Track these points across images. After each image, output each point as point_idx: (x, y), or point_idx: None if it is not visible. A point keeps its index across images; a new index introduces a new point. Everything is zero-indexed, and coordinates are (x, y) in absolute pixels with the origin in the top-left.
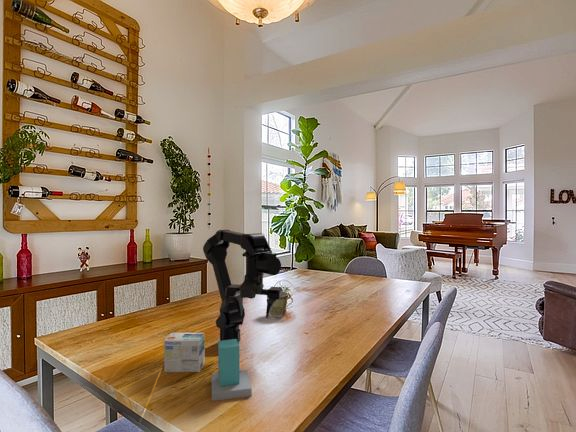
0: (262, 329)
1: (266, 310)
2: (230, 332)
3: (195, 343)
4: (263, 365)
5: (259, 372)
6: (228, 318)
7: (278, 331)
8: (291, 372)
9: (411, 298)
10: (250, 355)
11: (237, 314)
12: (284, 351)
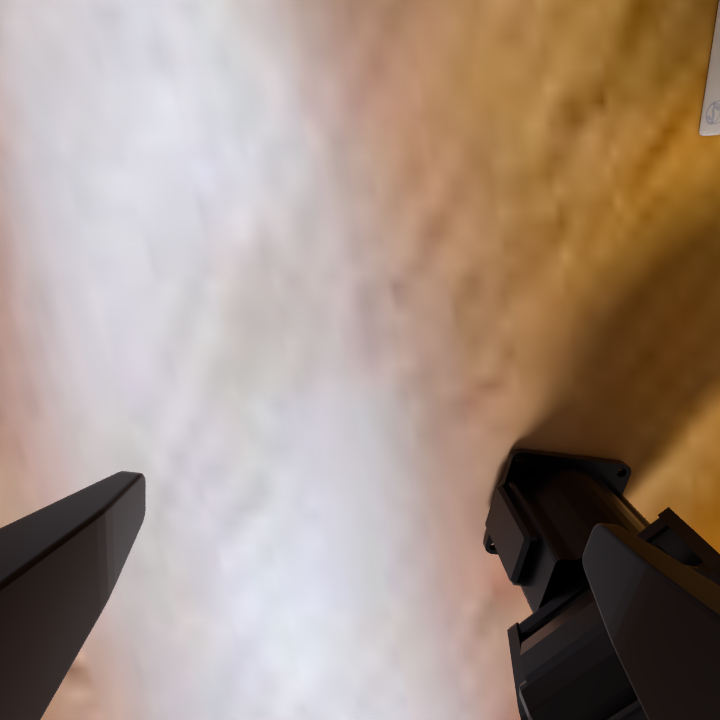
0: (363, 688)
1: (28, 560)
2: (585, 521)
3: None
4: (256, 177)
5: (263, 51)
6: (713, 582)
7: (257, 674)
8: (12, 71)
9: None
10: (380, 329)
11: (618, 672)
12: (152, 411)
